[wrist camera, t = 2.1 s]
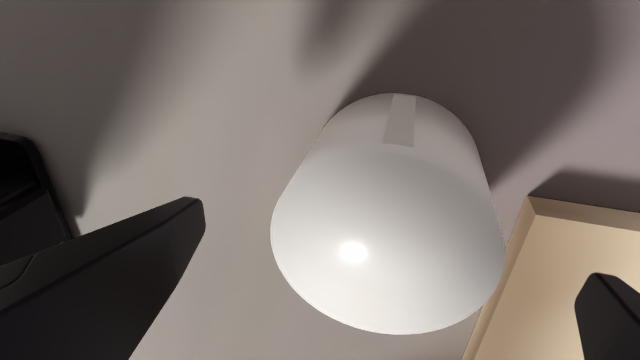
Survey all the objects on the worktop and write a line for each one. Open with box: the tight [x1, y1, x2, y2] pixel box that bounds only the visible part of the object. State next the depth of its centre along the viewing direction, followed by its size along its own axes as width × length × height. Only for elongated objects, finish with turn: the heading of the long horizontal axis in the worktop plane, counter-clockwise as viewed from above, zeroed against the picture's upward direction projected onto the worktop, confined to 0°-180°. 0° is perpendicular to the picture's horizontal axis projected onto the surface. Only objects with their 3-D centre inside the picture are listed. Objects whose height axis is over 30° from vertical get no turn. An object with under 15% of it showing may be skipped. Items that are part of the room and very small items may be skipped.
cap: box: [270, 93, 506, 335], centre depth 10 cm, size 5×5×4 cm
